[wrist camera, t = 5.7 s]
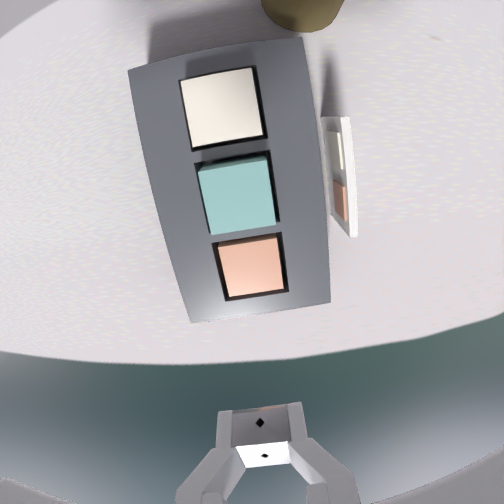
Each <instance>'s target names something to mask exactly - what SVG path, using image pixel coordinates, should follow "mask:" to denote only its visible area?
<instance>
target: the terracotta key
mask: <svg viewBox="0 0 504 504" xmlns="http://www.w3.org/2000/svg"><path fill="white" fill-rule="evenodd" d="M218 249H219V254H220V258H221V263H222V267H223V271H224V276H225V280H226V284H227V289H228V293H229V297H231V296H238V295H245V294H251V293H258V292H265V291H271V290H277V289H284V288H283V281H282V273H281V265H280V258H279V251H278V243H277V237H276V233H270V234H264V235H257V236H251V237H245V238H239V239H232V240H226V241H220V242H219V245H218Z"/></svg>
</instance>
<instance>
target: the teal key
mask: <svg viewBox="0 0 504 504" xmlns="http://www.w3.org/2000/svg"><path fill="white" fill-rule="evenodd" d="M198 175H199V180H200V185H201V189H202V194H203V199H204V204H205V208H206V213H207V217H208V222H209V226H210V231H211V235H216V234H222V233H228V232H234V231H240V230H247V229H253V228H259V227H265V226H272V225H276V220H275V213H274V206H273V199H272V193H271V186H270V179H269V173H268V166H267V160H266V158H265V156H264V155H263V154H261V155H254V156H248V157H242V158H236V159H230V160H225V161H219V162H214V163H209V164H204V165H203V166H202V168H201V169H200V170H199V171H198Z"/></svg>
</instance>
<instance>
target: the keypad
mask: <svg viewBox="0 0 504 504" xmlns="http://www.w3.org/2000/svg"><path fill="white" fill-rule="evenodd" d="M247 68H251V69H252V75H253V81H254V86H255V92H256V98H257V104H258V110H259V116H260V122H261V128H262V134H263V135H257V136H251V137H245V138H239V139H233V140H227V141H222V142H216V143H211V144H206V145H201V146H196V147H193V145H192V140H191V135H190V130H189V125H188V119H187V114H186V109H185V103H184V98H183V92H182V87H181V81H184V80H188V79H193V78H197V77H202V76H207V75H212V74H217V73H223V72H228V71H234V70H240V69H247ZM128 76H129V82H130V88H131V94H132V99H133V105H134V110H135V116H136V121H137V126H138V131H139V136H140V140H141V145H142V150H143V154H144V159H145V163H146V168H147V172H148V176H149V180H150V184H151V189H152V193H153V197H154V201H155V205H156V208H157V212H158V216H159V220H160V224H161V227H162V231H163V234H164V238H165V242H166V245H167V249H168V252H169V256H170V259H171V262H172V266H173V269H174V272H175V276H176V279H177V282H178V285H179V288H180V292H181V295H182V298H183V301H184V304H185V307H186V310H187V313H188V316H189V319H190V322H191V323H198V322H207V321H215V320H222V319H230V318H237V317H245V316H252V315H258V314H265V313H272V312H278V311H284V310H290V309H296V308H302V307H308V306H314V305H320V304H325V303H331V295H330V269H329V250H328V234H327V220H326V207H325V196H324V185H323V175H322V165H321V156H320V148H319V140H318V132H317V124H316V117H315V110H314V103H313V97H312V90H311V84H310V78H309V72H308V66H307V61H306V55H305V50H304V45H303V39H302V37H296V38H283V39H272V40H262V41H254V42H247V43H240V44H233V45H227V46H221V47H216V48H211V49H206V50H201V51H196V52H192V53H187V54H183V55H179V56H175V57H171V58H167V59H164V60H160V61H156V62H153V63H149V64H146V65H143V66H140V67H136V68H133V69H130V70H128ZM321 123H322V131H323V139H324V148H325V156H326V166H327V176H328V186H329V198H330V210H331V215H332V217H333V218H334V219H335V220H336V221H337V223H338V224H339V225H340V226H341V227H342V229H343V230H344V231H345V232H346V234H347V235H348V236H349V237H350V238H352V237H358V217H357V195H356V179H355V166H354V154H353V143H352V134H351V125H350V117H343V116H324V117H321ZM261 154H263V155H264V156H265V158H266V160H267V166H268V173H269V179H270V186H271V193H272V199H273V206H274V213H275V220H276V225H272V226H265V227H259V228H253V229H247V230H240V231H234V232H228V233H222V234H216V235H211V231H210V226H209V222H208V217H207V213H206V208H205V204H204V199H203V194H202V189H201V185H200V180H199V175H198V171H199V170H200V169H201V168H202V166H203V165H204V164H209V163H214V162H219V161H225V160H230V159H236V158H242V157H248V156H254V155H261ZM270 233H276V237H277V243H278V251H279V258H280V265H281V273H282V281H283V288H284V289H277V290H271V291H265V292H258V293H251V294H245V295H238V296H231V297H229V293H228V289H227V284H226V280H225V276H224V271H223V267H222V263H221V258H220V254H219V249H218V245H219V242H220V241H226V240H232V239H239V238H245V237H251V236H257V235H264V234H270Z"/></svg>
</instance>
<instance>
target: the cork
mask: <svg viewBox="0 0 504 504" xmlns="http://www.w3.org/2000/svg"><path fill="white" fill-rule="evenodd" d="M343 2H344V0H262V6H263V8H264V10H265V12H266V14H267V15H268V16H269V17H270V18H271V19H272V20H273V21H274V22H275V23H277V24H278V25H280V26H282V27H284V28H285V29H288V30H292V31H296V32H314V31H318V30H322V29H324V28H325V27H327V26H328V25H330V24H331V23H332V21H333V20H334V19H335V17H336V16H337V14H338V12H339V10H340V8H341V6H342V4H343Z"/></svg>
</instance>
